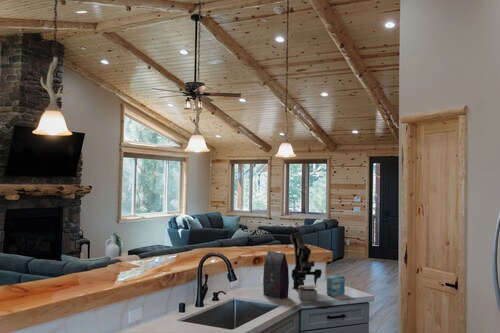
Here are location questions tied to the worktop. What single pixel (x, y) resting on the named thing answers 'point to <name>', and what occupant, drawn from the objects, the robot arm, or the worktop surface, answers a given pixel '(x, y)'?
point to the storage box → (307, 294)
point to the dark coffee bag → (276, 275)
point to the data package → (335, 285)
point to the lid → (307, 286)
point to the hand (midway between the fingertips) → (308, 284)
